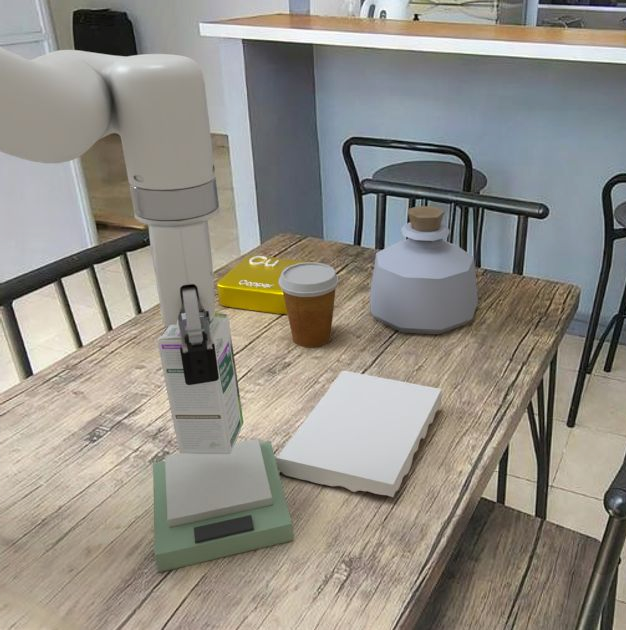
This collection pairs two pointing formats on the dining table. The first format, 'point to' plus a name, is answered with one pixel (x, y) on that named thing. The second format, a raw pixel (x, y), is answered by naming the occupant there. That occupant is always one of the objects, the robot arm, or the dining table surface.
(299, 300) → the disposable coffee cup
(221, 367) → the syrup box
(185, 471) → the scale
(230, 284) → the element tile
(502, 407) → the dining table surface
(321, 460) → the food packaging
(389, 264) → the bottle
